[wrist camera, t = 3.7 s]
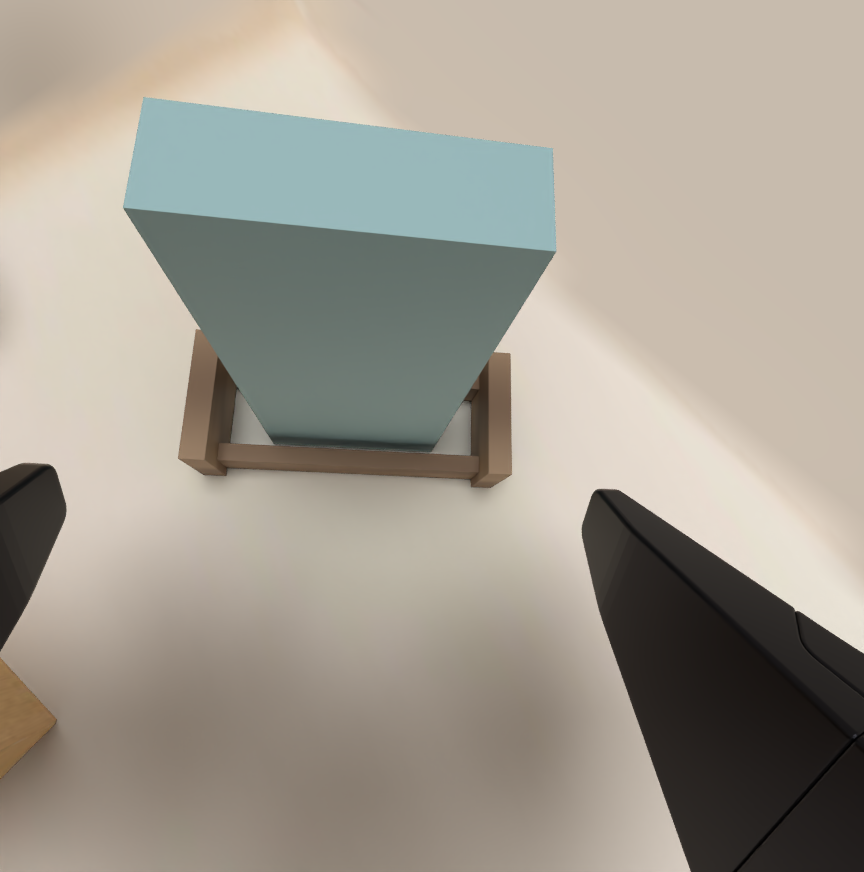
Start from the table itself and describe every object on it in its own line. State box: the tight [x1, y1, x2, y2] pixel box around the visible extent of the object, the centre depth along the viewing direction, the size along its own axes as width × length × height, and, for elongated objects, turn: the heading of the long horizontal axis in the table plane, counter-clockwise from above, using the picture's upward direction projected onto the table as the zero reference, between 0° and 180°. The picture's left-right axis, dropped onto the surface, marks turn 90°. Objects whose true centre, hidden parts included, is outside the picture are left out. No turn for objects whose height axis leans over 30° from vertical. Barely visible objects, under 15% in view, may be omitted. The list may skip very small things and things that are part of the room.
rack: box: [178, 330, 512, 488], centre depth 20 cm, size 4×11×3 cm, turn 89°
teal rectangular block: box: [123, 97, 556, 452], centre depth 15 cm, size 2×6×14 cm, turn 89°
